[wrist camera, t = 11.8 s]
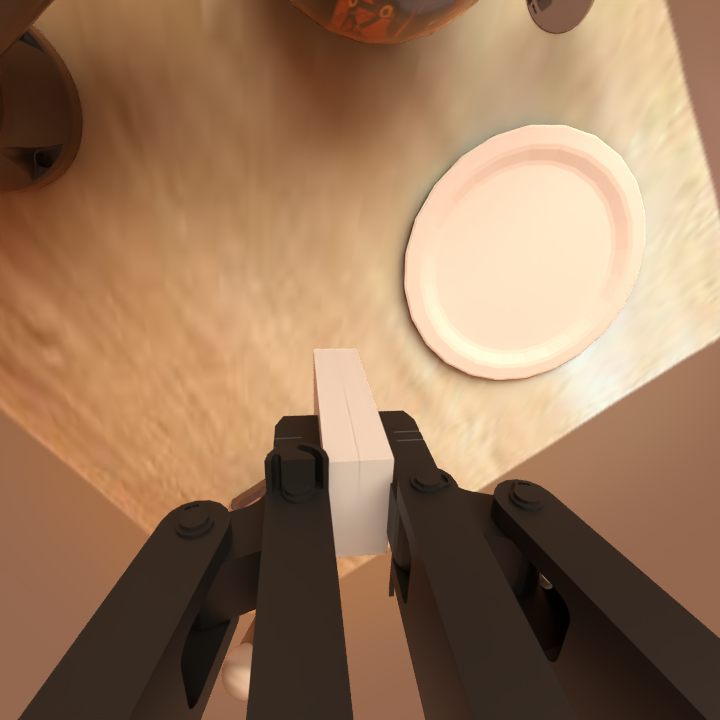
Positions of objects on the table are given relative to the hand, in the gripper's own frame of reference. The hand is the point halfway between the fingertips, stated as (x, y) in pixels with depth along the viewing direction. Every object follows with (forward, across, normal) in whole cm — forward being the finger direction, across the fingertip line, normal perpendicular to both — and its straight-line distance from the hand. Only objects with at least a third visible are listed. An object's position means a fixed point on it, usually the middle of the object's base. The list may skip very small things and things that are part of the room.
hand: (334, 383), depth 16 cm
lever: (+29, +4, -29) cm, 41 cm away
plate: (+35, +25, -2) cm, 43 cm away
